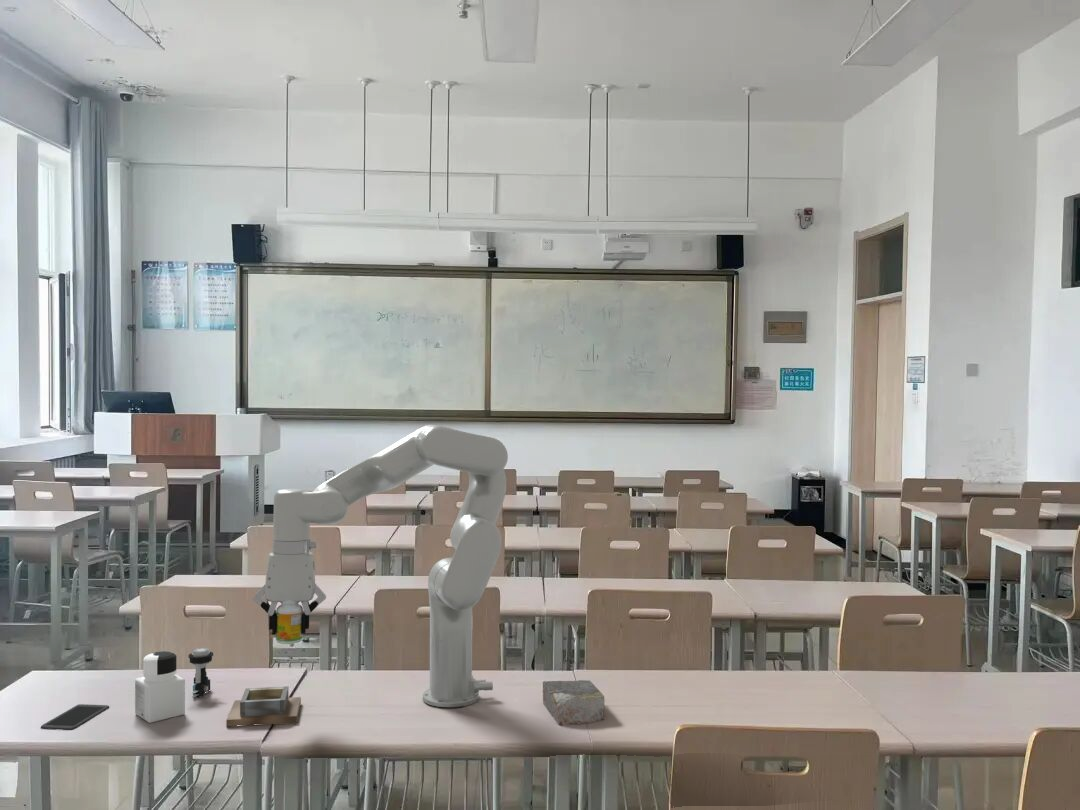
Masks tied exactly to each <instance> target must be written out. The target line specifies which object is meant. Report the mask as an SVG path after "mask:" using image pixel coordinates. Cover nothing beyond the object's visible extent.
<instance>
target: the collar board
mask: <svg viewBox="0 0 1080 810" xmlns="http://www.w3.org/2000/svg"><path fill="white" fill-rule="evenodd" d="M289 687H290V686H269V687H265V686H264V687H251V688H250V687H246V688H245V690H244V692H243V694H242V697H241V699H239V700H238V699H237V700H234V701H233V704H232V706H231V708H230V711H229V712H228V715H227V718H226V724H225V725H226V726H237V725H254V724H273V725H286V724H285V723H291V724H297V723H298V719H299V712H300V708H301V705H300V704H301V703H302V697H301V696H297V697H296V696H295V697H293V696H292V697H289ZM297 718H298V719H297Z"/></svg>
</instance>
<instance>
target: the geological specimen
mask: <svg viewBox="0 0 1080 810" xmlns="http://www.w3.org/2000/svg"><path fill="white" fill-rule="evenodd" d="M542 700H543V701H542V702H543V703H542V704H543V706H544V707H545V708H546V710H547V712H549V714H550V715H551V717H552V718H553V720H554V722H555V723H556V724H557V725H558V726H572V725H582V724H587V725H588V724H590V723H595V722H600V721H602V720H603V721H604V720H605V717H604V716H605V715H604V709H605V708H604V707H605V695H604V694H603V693H602V692H601V691H600V690H599V689H598V688H597V686H596V685H595V684H594V683H593V682H592V681H591V680H589V679H587V680H585V679H583V680H581V679H579V680H544V681H542Z"/></svg>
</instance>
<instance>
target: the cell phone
mask: <svg viewBox="0 0 1080 810" xmlns="http://www.w3.org/2000/svg"><path fill="white" fill-rule="evenodd" d="M109 708H110V706H109V705H107V704H85V703H82V704H81V703H80V704H77V705H75V706H73V707H72V708H69V709H67V710H66V711H64V712H62V713H61V714H59V715H57V716H56V717H53V718H52V719H50V720H48V721H46V722H45V723H43V724H42V725H41V726H40V729H42V730H56V729H63V731H72V730H75V729H77V728H79V727H81V726H82V725H83V724H86V723H87V722H88V721H91V720H92V719H94V718H95V717H97V716H98V715H101V714H102V713H103V712H104V711H106V710H108V709H109ZM80 725H81V726H80Z"/></svg>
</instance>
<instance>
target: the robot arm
mask: <svg viewBox="0 0 1080 810" xmlns="http://www.w3.org/2000/svg"><path fill="white" fill-rule="evenodd" d="M508 458H509V453H508V449H507V448H506V446H505V445H504V443H503V442H502V441H500V440H499V439H497V438H496V437H490V436H486V435H481V434H476V433H473V432H466V431H461V430H458V429H454V428H450V427H447V426H442V425H437V424H426V425H424V426H421V427H420V428H418V429H416V430H415V431H413V432H411V433H409V434H407V436H405V437H402V438H401V439H400V440H398V441H396V442H395V443H393V444H392V445H390V446H387V447H386V448H385V449H383V450H381V451H379V452H378V453H376V454H374V455H371V456H370V457H368V458H366V459H364V460H363V461H361V462H360V463H357V464H355V465H353V466H351V467H350V468H348V469H346V470H343V471H342V472H340V473H339V474H337V475H335V476H333V477H332V478H329V479H328V480H327V481H325V482H323V483H322V484H320V485H318V486H317V487H315V488H314V490H313V491H308V490H306V489H303V488H284V489H283V488H282V489H279V490H277V491H276V492H275V493H274V495H273V518H272V519H273V520H272V521H273V524H272V526H273V528H272V552H270V553H269V555H268V559H267V565H266V571H265V572H266V573H265V574H266V575H265V584H264V585H263V586H262V587H261V588H260V589H259V590H258V591H257V592H256V593H255V595H253V597H252V600H253V601H254V602H255V603H256V604H257V605H258V606H259V607H261V609H263V611H265V613H267V614H268V616H269V620H268V630H271V635H274V636H276V621H277V606H278V603H280V602H284V601H288V600H291V601H295V602H299V603H301V606H302V608H303V615H302V635H305V634H306V631H307V630H309V629H310V614H311V613H312V612H313V611H314V610H315V609H316V608H317V607H318V606H319V605H320V604H321V603H323V602H324V601H325V600H326V599H327V595H326V594H325V593H324V591H323V590H322V589H321V588H320V586H319V585H317V583H316V571H315V570H316V567H315V559H314V553H313V552H311V550H312V549H317V542H316V541H312V540H311V539H310V536H311V535H310V532H311V531H310V529H311V526H310V525H311V524H316V525H317V524H318V525H326V526H330V525H337V524H339V523H340V522H342V521H343V520H344V519H345V518H346V516H347V515H348V514H349V513H348V512H349V507H350V506H352V505H353V504H355V503H357V502H358V501H361V500H362V499H364V498H367V497H369V496H371V495H374V494H377V493H381V492H382V493H383V492H387V491H390V490H393V489H396V488H397V487H399V486H401V485H402V484H404V483H406V482H407V481H409V480H410V479H412V478H413V477H415V476H417V475H418V474H421V473H422V472H423V471H426V470H427V469H429V468H430V467H432V466H438V467H444V468H447V469H452V470H456V471H461V472H465V473H468V479H469V483H468V487H467V491H466V494H465V497H464V500H463V503H462V505H461V507H460V509H459V512H458V514H457V517H456V519H455V521H454V524H453V526H452V527H451V530H450V536H449V540H450V543H451V546H452V547H453V549H454V553H453V556H452V557H444V558H442V559H440V560H438V561H437V562H435V564H434V565H433V566H432V568H431V569H430V572H429V574H428V578H427V589H428V590H427V592H428V600H429V602H428V603H429V688H427V689H426V690H424V691H423V693H422V700H423V702H424V703H425V704H427V705H430V706H433V707H437V708H460V707H465V706H469V705H472V704H474V703H476V702H477V701H478V700H479V698H480V696H479V695H480V694H479V691H493V689H494V685H493V680H492V681H491V680H490V681H487V680H486V679H476V678H474V675H473V620H474V619H473V607H474V606H475V605H476V604H478V602H480V599H481V598H482V596H483V594H484V592H485V590H486V588H487V585H488V584H489V581H490V579H491V577H492V573H493V571H494V569H495V566H496V564H497V562H498V558H499V556H500V553H501V551H502V541H503V540H502V534H501V531H500V529H499V528H498V526H497V525H496V523H497V520H498V517H499V514H500V513H501V509H502V507H503V503H504V500H505V497H506V494H507V493H506V492H507V476H506V471H505V467H506V466H507V463H508V460H509V459H508ZM315 595H316V596H317V598H315V599H314V596H315ZM263 596H265V598H264V599H265V600H264V599H263ZM313 599H314V600H313ZM311 600H312V602H311V603H310V601H311ZM269 602H271V603H269Z"/></svg>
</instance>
